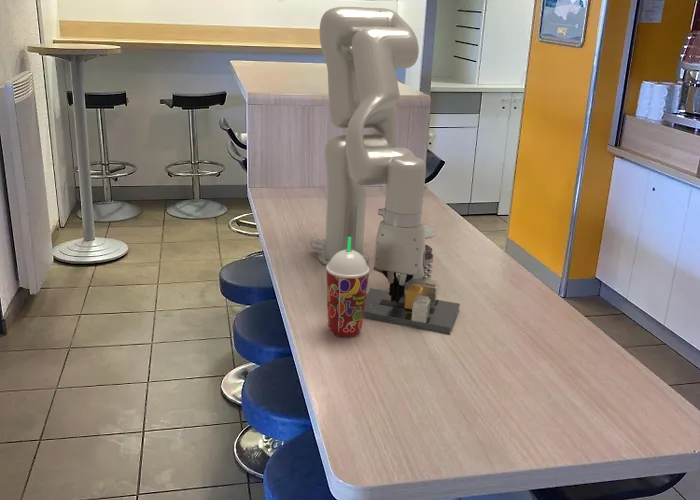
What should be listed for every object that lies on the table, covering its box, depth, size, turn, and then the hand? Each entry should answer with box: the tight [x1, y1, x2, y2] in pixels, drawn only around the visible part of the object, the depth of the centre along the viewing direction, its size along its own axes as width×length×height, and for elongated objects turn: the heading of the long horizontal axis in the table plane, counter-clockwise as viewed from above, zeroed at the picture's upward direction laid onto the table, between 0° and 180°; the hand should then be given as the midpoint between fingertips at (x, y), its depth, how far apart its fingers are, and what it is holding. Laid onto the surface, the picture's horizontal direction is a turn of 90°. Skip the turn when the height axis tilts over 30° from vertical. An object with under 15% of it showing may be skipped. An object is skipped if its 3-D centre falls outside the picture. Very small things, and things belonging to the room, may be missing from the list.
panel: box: [363, 278, 461, 335], centre depth 143 cm, size 20×12×6 cm, turn 73°
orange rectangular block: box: [405, 284, 423, 309], centre depth 143 cm, size 3×3×5 cm
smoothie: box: [325, 237, 370, 338], centre depth 132 cm, size 8×8×20 cm
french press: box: [397, 183, 437, 294], centre depth 152 cm, size 10×12×25 cm
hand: (396, 299), depth 144 cm, fingers closed
